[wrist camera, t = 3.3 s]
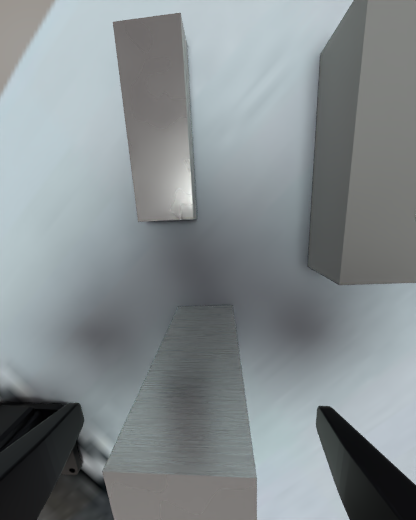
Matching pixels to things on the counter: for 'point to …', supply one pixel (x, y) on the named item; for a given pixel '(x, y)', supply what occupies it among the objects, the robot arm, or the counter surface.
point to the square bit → (188, 429)
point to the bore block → (366, 148)
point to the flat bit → (158, 115)
